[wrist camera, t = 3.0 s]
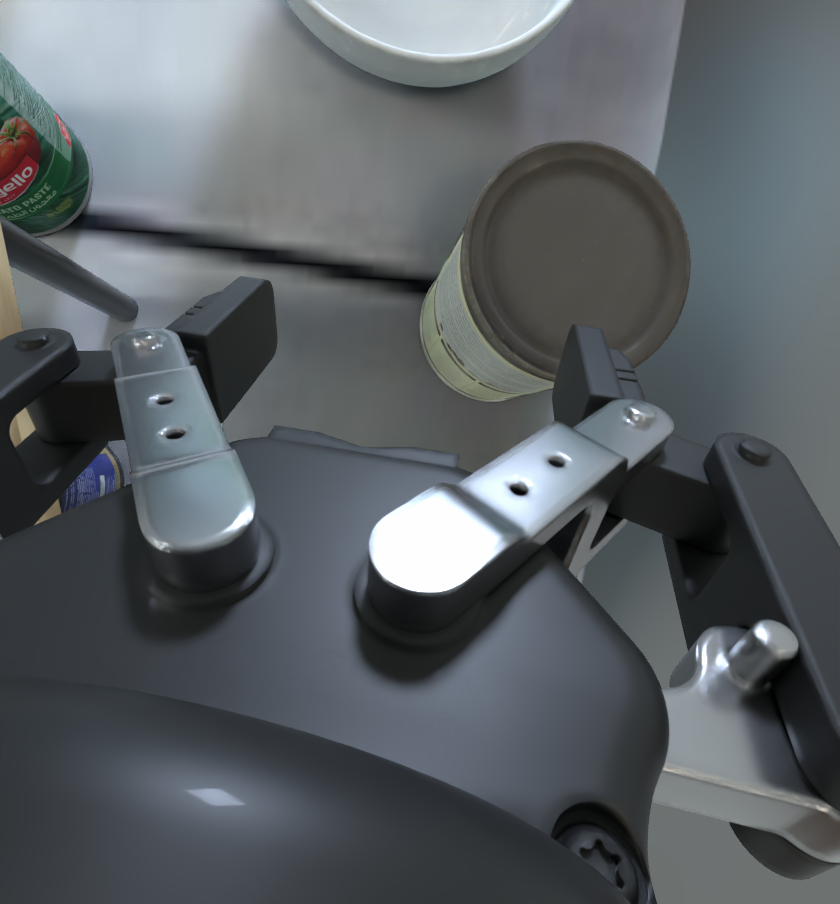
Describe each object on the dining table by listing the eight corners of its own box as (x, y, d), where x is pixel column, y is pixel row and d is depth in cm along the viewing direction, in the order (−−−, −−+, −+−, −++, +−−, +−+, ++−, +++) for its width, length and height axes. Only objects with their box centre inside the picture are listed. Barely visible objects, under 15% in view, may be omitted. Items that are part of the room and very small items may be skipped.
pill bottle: (127, 433, 33) (16, 432, 22) (127, 528, 33) (17, 575, 22) (21, 431, 32) (-150, 429, 21) (21, 529, 32) (-148, 578, 21)
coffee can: (447, 230, 35) (513, 95, 21) (580, 289, 36) (724, 199, 23) (395, 371, 35) (427, 328, 21) (530, 424, 36) (645, 417, 22)
